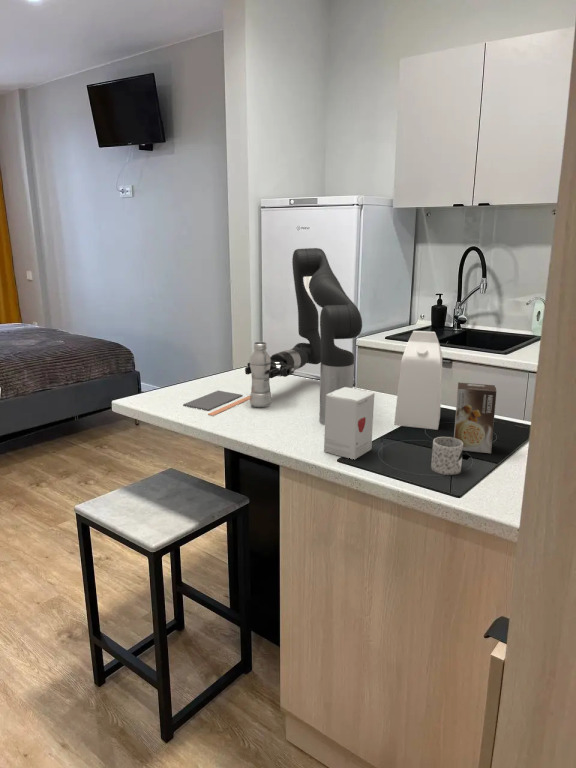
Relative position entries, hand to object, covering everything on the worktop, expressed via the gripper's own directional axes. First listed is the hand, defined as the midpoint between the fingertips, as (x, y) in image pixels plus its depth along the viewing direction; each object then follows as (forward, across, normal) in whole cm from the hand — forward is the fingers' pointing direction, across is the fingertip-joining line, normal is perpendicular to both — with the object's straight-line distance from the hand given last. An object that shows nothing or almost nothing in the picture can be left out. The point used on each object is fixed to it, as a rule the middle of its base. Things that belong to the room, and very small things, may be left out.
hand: (257, 373), depth 168 cm
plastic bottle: (-2, 0, +11) cm, 11 cm away
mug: (+14, +61, +11) cm, 64 cm away
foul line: (+2, -8, +11) cm, 14 cm away
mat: (+2, -16, +11) cm, 19 cm away
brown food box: (-1, +64, +11) cm, 65 cm away
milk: (-14, +46, +11) cm, 49 cm away
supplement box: (+17, +38, +11) cm, 43 cm away
